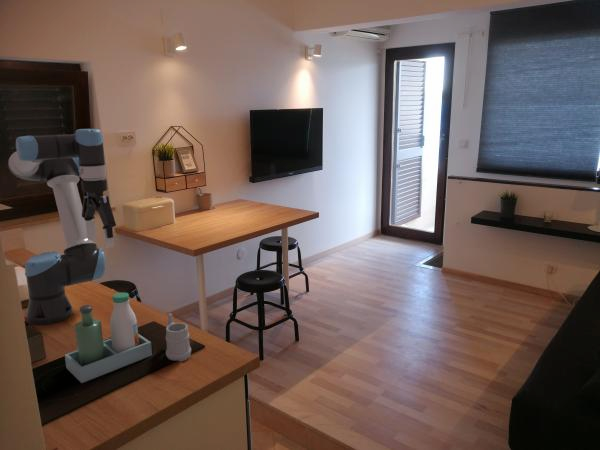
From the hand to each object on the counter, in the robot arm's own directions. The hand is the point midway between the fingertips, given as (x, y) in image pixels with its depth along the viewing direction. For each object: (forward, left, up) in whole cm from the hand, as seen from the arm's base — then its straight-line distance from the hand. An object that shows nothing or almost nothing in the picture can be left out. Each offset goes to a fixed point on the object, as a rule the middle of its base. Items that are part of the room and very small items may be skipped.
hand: (100, 243), depth 156 cm
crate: (+20, -9, -32) cm, 39 cm away
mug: (+29, +8, -32) cm, 44 cm away
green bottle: (+20, -14, -31) cm, 40 cm away
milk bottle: (+20, -4, -31) cm, 37 cm away
